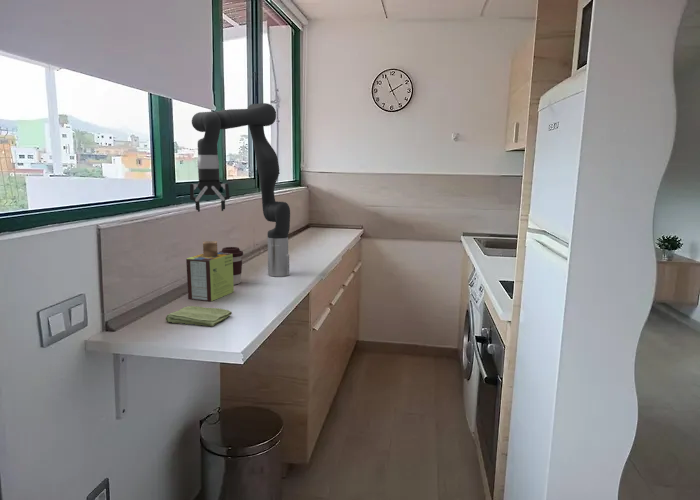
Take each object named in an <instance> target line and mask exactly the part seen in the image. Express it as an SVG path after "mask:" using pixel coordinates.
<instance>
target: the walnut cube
mask: <svg viewBox="0 0 700 500" xmlns="http://www.w3.org/2000/svg"><path fill="white" fill-rule="evenodd" d="M202 251H203V253H202V254H203V256H204V257H213V256H217V255H218V253H217V252H218V240H213V241H212V240H210V241H209V240H208V241H205V240H204V241H203V242H202Z"/></svg>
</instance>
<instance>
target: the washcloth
mask: <svg viewBox="0 0 700 500" xmlns="http://www.w3.org/2000/svg"><path fill="white" fill-rule="evenodd" d="M232 315H233V313H232V311H231V310H229V309H223V308H218V307H202V306H195V305H189V306H185V307H182V308H180V309H179V310H177V311H173V312H171V313H168V314H167V315H166V316H165V321H166V322H167V321H168V322H167V323H169V322H172V323H171V324H176V323H185V324H184V325H187V324H195V325H194V326H201V325H204V326H206V327H214V326H215V325H217V324H218V323H220V322H223V321H224V320H225V319H227V318H228V317H230V316H232Z"/></svg>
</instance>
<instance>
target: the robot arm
mask: <svg viewBox="0 0 700 500" xmlns="http://www.w3.org/2000/svg"><path fill="white" fill-rule="evenodd" d="M276 111H277V110H276V109H275V107H274V106H273V105H272V104H270V103H268V102H266V103H264V102H262V103H250V104H249V106H248V107H247V108H238V109H236V108H233V109H232V108H230V109H221V110H217V111H202V112H201V111H200V112H196V113H194V115H193V116H192V118H191V125H192V127H193V129H195V130H196V131H197V132H200V133H204V135H203V137H202V138H200V139H198V140H197V173H198V183H190V185H189V199H190V201H193V202H195V210H196V211H197V212H199V213H200V211H201V205H200V202H201V201H200V199H201V198H202V196H203V195H205V196H209V195H210V196H215V195H217V196H218V198H219V199H220V200H221V201H220V209H221V212H224V210H226V201H227V200H229V199H230V187H229V183H228V182H226V183H221V180H220V179H221V178H220V164H219V163H220V161H219V156H218V143H219V138H220V133H221V130H228V129H235V128H240V127H245V126H248V129H249V132H250V136H251V140H252V144H253V150H254V154H255V161H256V166H257V173H258V177H259V184H260V192H261V204H262V213H263V217H264V219H265V220H266V221H268V222H271V223H275V226H274V227H273V228H272V229H269V230H267V270H268V271H267V273H268V276H269V277H275V278H276V277H277V278H278V277H286V276H290V254H289V233H290V230H291V225H290V223H291V209H290V205H289V204H288V203H287V202H286V201H276V198H275V186H276V184H277V181H278V179H279V176H280V165H279V163H280V162H279V159H278V154H277V153H276V150H275V149H274V148H273V146H271V143H270V142H269V141H268V139H267V138H266V135H265V131H264V127H269V126H272V125H273V124H274V123H275V121H276V119H277V112H276ZM197 188H198V189H199V190H200V191H199V193H198V195H197V196H196V197H195V196H194V195H195V192H194V190H196V189H197ZM222 188H223V190H224V191H225V196H224V195H222V193H221V191H220V189H222Z"/></svg>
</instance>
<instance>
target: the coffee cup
mask: <svg viewBox="0 0 700 500" xmlns="http://www.w3.org/2000/svg"><path fill="white" fill-rule="evenodd" d="M218 252H219V253H232V254H233V286H234V285H239V284H241V282H242V270H243V260H242V256H244V251H243V250H241V249H240V248H239V247H238V246H225V247H223V248H222V249H221V250H220V251H218Z"/></svg>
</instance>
